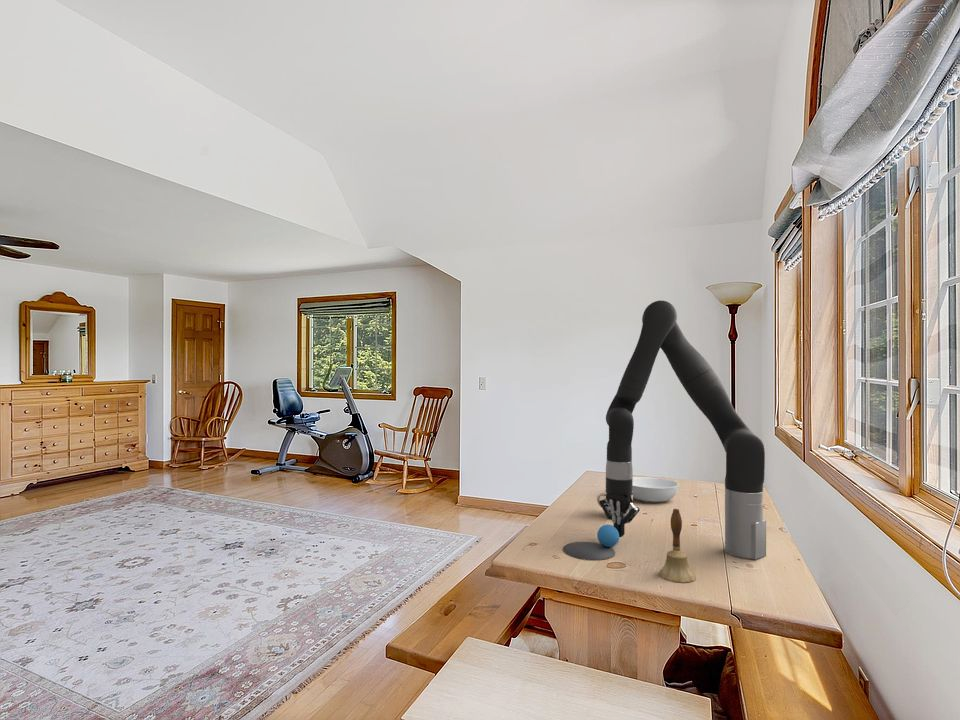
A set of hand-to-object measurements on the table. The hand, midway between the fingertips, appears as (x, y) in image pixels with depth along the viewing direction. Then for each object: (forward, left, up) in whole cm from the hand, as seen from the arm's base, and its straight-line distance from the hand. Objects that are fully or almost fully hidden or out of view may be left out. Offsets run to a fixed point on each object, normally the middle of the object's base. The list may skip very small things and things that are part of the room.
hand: (618, 536), depth 149 cm
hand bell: (-24, +9, -2) cm, 26 cm away
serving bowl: (+24, -50, -2) cm, 55 cm away
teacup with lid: (+17, -20, -2) cm, 26 cm away
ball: (-1, +6, +2) cm, 6 cm away
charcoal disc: (0, +13, -2) cm, 13 cm away
